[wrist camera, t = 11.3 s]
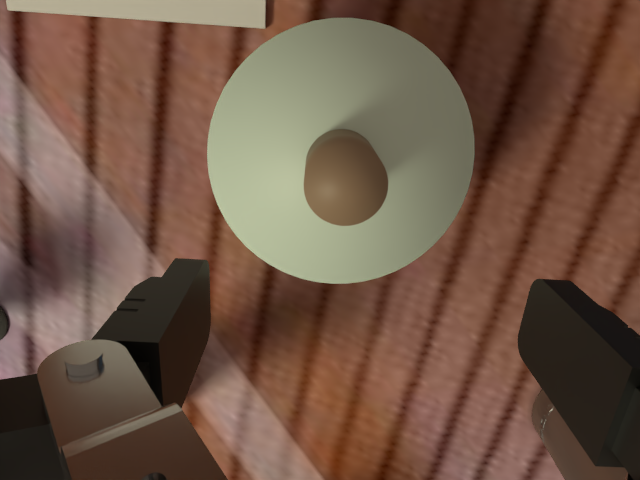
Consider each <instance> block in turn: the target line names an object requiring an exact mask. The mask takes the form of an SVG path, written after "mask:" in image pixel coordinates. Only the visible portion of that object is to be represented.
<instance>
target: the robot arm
mask: <svg viewBox="0 0 640 480" xmlns="http://www.w3.org/2000/svg"><path fill="white" fill-rule="evenodd" d="M210 321H211V313H210V278H209V264H208V261H207V260H197V259H178V258H176V259H175V260H174V261H173V262H172V264H171V265H170V266H169V268H168V269H167V270H166V272H165V273H164V275H163V276H162V277H150V278H148V279H147V280H145V281H143V282H141V283H140V284H138V285H136V286H134V288H133V289H132V290H131V291H130V293H129V294H128V295H127V296H126V297H125V301H122V302H121V304H120V305H119V306H118V307H117V311H114V312H113V314H112V315H111V316H110V317H109V319H108V320H107V321H106V322H105V323H104V325H103V326H102V327H101V328H100V330H99V331H98V332H97V333H96V335H95V336H94V337H93V338H92V340H87V341H81V342H77V343H74V344H71V345H68V346H65V347H63V348H61V349H59V350H57V351H55V352H54V353H52V354H51V355H49V356H48V357H47V358H46V359H45V360H44V361H43V362H42V363H41V364H40V366H39V368H38V371H37V374H33V375H28V376H22V377H15V378H8V379H2V380H0V480H228V479H227V478H226V476H225V475H224V473H223V472H222V470H221V469H220V467H219V466H218V464H217V463H216V461H215V459H214V458H213V456H212V455H211V453H210V452H209V450H208V449H207V447H206V446H205V444H204V443H203V441H202V440H201V438H200V437H199V435H198V434H197V432H196V430H195V429H194V427H193V426H192V424H191V423H190V421H189V420H188V418H187V417H186V415H185V414H184V412H183V411H182V409H181V408H182V405H183V403H184V400H185V398H186V395H187V393H188V390H189V387H190V385H191V382H192V380H193V377H194V375H195V372H196V370H197V367H198V364H199V362H200V359H201V357H202V354H203V352H204V349H205V347H206V344H207V341H208V337H209V331H210ZM518 349H519V353H520V356H521V358H522V360H523V361H524V363H525V364H526V366H527V367H528V369H529V370H530V372H531V373H532V375H533V376H534V377H535V379H536V380H537V382H538V383H539V385H540V386H541V388H542V391H541V392H540V393H539V395H538V396H537V398H536V400H535V403H534V405H533V410H532V422H533V425H534V427H535V429H536V431H537V433H538V435H539V436H540V438H541V440H542V441H543V443H544V445H545V446H546V448H547V450H548V452H549V453H550V455H551V457H552V458H553V460H554V462H555V464H556V465H557V467H558V469H559V471H560V472H561V474H562V476H563V477H564V479H565V480H640V335H638V334H637V333H636V332H635V331H634V330H633V329H631V328H628V325H627V324H626V323H624V322H623V321H622V320H621V319H620V318H619V317H617V316H616V315H615V314H614V313H613V312H611V311H609V310H607V309H605V308H603V307H602V306H600V305H598V304H597V303H596V302H594V301H593V300H592V299H591V298H590V297H589V296H587V295H586V294H585V293H584V292H583V291H582V290H581V289H579V288H578V287H577V286H576V285H575V284H574V283H573V282H571V281H567V280H549V279H537V280H535V281H534V282H533V284H532V285H531V288H530V291H529V295H528V299H527V303H526V307H525V310H524V314H523V318H522V322H521V326H520V330H519V334H518Z"/></svg>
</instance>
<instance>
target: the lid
mask: <svg viewBox="0 0 640 480" xmlns="http://www.w3.org/2000/svg"><path fill="white" fill-rule="evenodd" d="M474 156H475V152H474V132H473V125H472V119H471V116H470V112H469V109H468V105H467V102H466V100H465V98H464V96H463V93H462V91H461V89H460V87H459V85H458V84H457V82H456V80H455V79H454V77H453V76H452V74H451V72H450V71H449V70H448V69H447V67H446V66H445V65H444V64H443V63H442V61H441V60H440V59H439V58H438V57H437V56H436V55H435V54H434V53H433V52H432V51H430V50H429V49H428V48H427V47H426V46H425V45H424V44H422V43H421V42H419V41H418V40H416V39H415V38H413V37H411V36H410V35H408V34H406V33H404V32H402V31H400V30H398V29H396V28H394V27H391V26H388V25H385V24H382V23H378V22H375V21H371V20H364V19H357V18H329V19H323V20H316V21H312V22H308V23H305V24H302V25H298V26H295V27H293V28H291V29H289V30H286V31H284V32H282V33H280V34H278V35H276V36H275V37H273V38H272V39H270V40H269V41H267V42H265V43H264V44H262V45H261V46H260V47H259V48H258V49H256V50H255V51H254V52H253V53H252V54H251V55H249V56H248V57H247V58H246V59H245V61H244V62H243V63H242V64H241V65H240V66H239V67H238V69H237V70H236V71H235V72H234V74H233V75H232V77H231V78H230V80H229V81H228V83H227V84H226V86H225V87H224V89H223V91H222V94H221V96H220V98H219V100H218V102H217V104H216V107H215V110H214V113H213V117H212V120H211V124H210V130H209V136H208V148H207V161H208V171H209V177H210V182H211V186H212V190H213V193H214V196H215V199H216V201H217V204H218V207H219V209H220V211H221V212H222V214H223V216H224V218H225V220H226V222H227V223H228V225H229V226H230V228H231V229H232V230H233V232H234V233H235V235H236V236H237V237H238V238H239V239H240V240H241V241H242V242H243V244H244V245H245V246H246V247H247V248H248V249H250V250H251V251H252V252H253V253H254V254H255V255H257V256H258V257H259V258H261V259H262V260H264V261H265V262H267V263H268V264H270V265H271V266H273V267H275V268H277V269H279V270H281V271H283V272H285V273H287V274H290V275H293V276H295V277H298V278H301V279H305V280H310V281H314V282H321V283H330V284H348V283H356V282H363V281H367V280H372V279H376V278H379V277H382V276H385V275H387V274H390V273H393V272H395V271H397V270H399V269H401V268H402V267H404V266H406V265H408V264H410V263H411V262H413V261H414V260H416V259H417V258H419V257H420V256H421V255H423V254H424V253H425V252H426V251H427V250H428V249H430V248H431V247H432V246H433V245H434V244H435V243H436V242H437V241H438V240H439V239H440V237H441V236H442V235H443V234H444V233H445V232H446V230H447V229H448V227H449V226H450V225H451V223H452V222H453V220H454V219H455V217H456V215H457V213H458V212H459V210H460V208H461V206H462V204H463V201H464V199H465V196H466V194H467V191H468V188H469V184H470V180H471V177H472V172H473V164H474Z"/></svg>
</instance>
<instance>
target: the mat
mask: <svg viewBox="0 0 640 480" xmlns="http://www.w3.org/2000/svg"><path fill="white" fill-rule="evenodd" d="M6 3H7V9H8V10H11V11H24V12H38V13H52V14H66V15H80V16H94V17H108V18H122V19H136V20H150V21H164V22H178V23H192V24H206V25H220V26H234V27H248V28H262V29H266V0H6Z"/></svg>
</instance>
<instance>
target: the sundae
mask: <svg viewBox="0 0 640 480" xmlns="http://www.w3.org/2000/svg"><path fill="white" fill-rule="evenodd" d="M7 329H8V321H7V318H6V315H5V313H4V311H3V310H2V308H1V307H0V340H1V339H2V338H3V337H4V336H5V334H6V332H7Z"/></svg>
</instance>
